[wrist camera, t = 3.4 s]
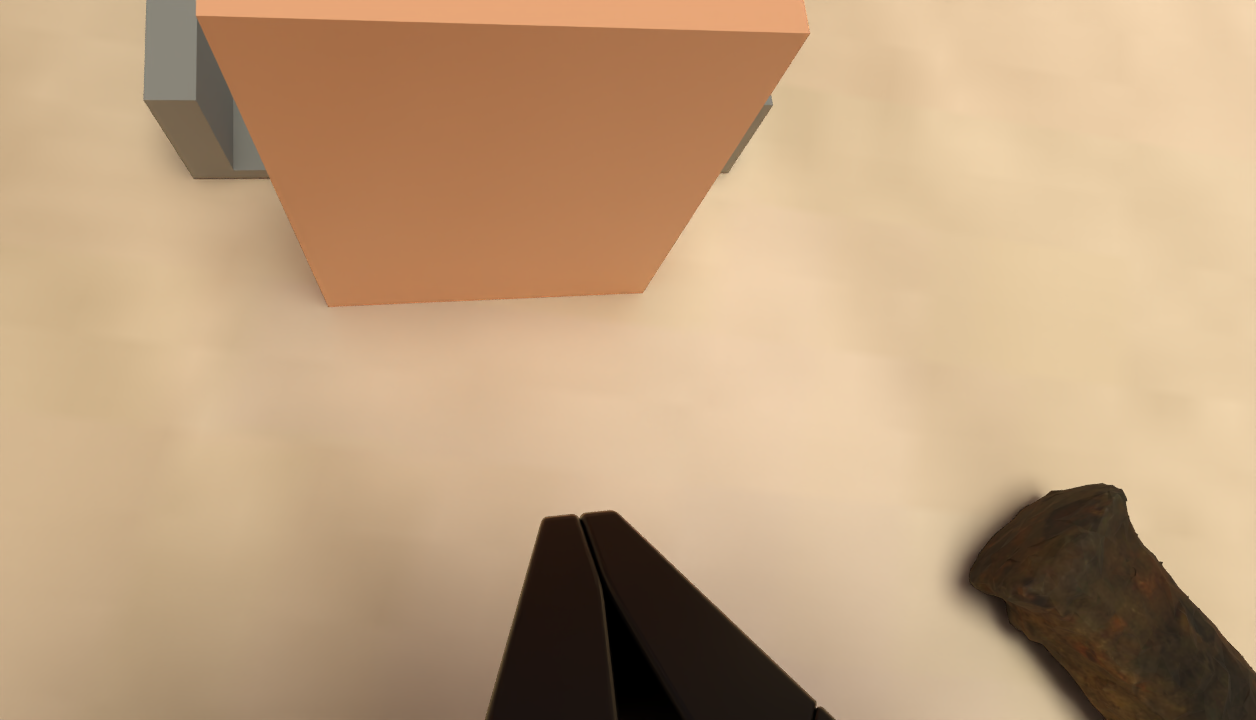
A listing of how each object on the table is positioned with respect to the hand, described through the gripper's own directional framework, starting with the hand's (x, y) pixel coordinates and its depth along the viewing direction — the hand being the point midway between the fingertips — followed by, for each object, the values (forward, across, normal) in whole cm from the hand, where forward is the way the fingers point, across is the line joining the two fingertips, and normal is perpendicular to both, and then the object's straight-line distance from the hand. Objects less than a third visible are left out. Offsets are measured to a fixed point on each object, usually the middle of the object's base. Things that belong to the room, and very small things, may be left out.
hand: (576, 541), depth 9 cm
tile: (+13, 0, +2) cm, 14 cm away
